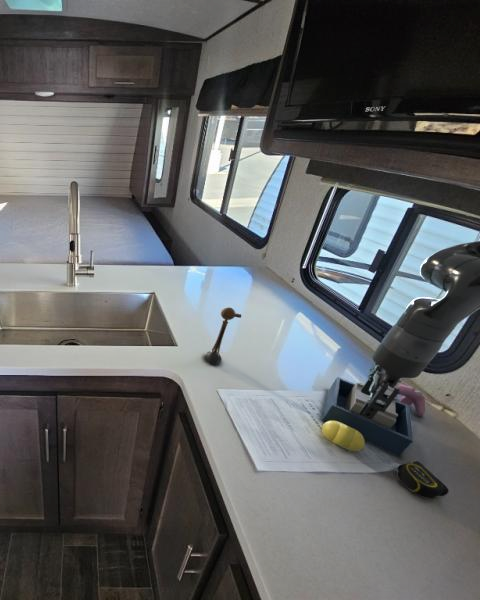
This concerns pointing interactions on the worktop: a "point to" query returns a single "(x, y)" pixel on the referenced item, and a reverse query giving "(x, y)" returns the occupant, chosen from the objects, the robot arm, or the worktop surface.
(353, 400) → the block
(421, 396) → the video game controller
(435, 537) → the worktop surface
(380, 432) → the crate
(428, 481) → the tape measure
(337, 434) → the yellow capsule
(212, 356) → the wooden tabletop sculpture
